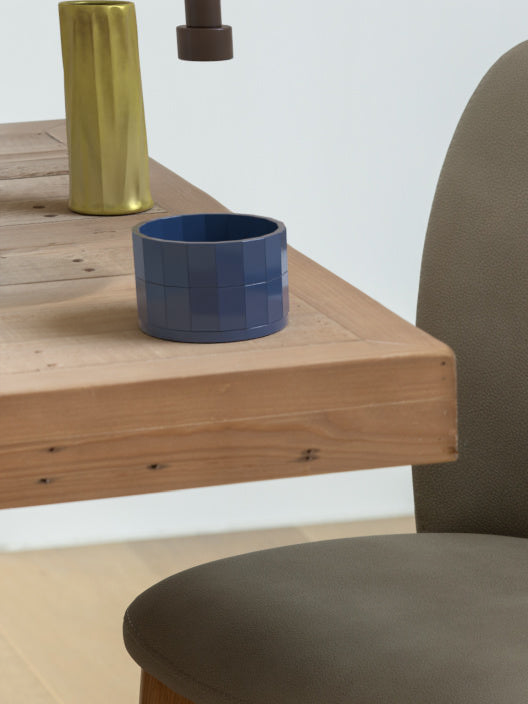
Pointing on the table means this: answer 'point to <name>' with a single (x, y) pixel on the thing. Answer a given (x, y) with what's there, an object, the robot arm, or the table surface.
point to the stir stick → (204, 33)
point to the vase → (104, 108)
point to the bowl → (211, 276)
